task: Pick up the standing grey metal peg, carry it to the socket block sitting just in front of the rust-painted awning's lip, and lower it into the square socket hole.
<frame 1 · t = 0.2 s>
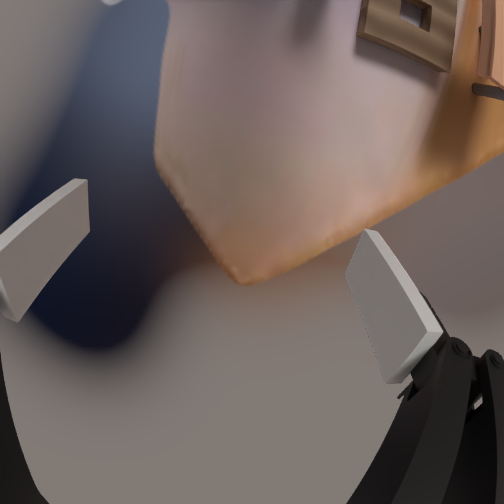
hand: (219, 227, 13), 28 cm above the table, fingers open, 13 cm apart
awning: (474, 54, 26), on the table
socket block: (406, 14, 25), on the table
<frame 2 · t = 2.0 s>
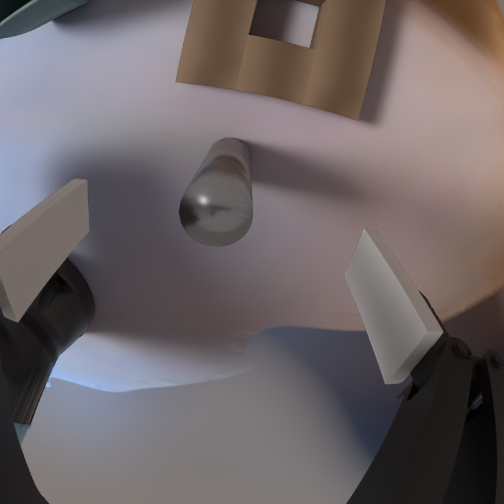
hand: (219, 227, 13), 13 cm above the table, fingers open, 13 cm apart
peg: (229, 157, 24), on the table
socket block: (284, 22, 18), on the table
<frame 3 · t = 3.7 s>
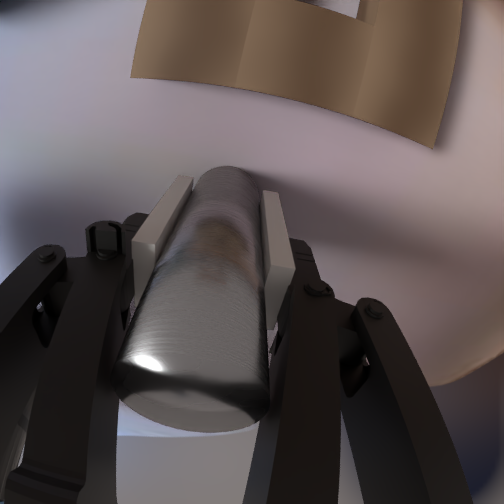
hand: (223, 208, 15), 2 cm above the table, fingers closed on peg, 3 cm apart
peg: (226, 197, 16), on the table, touching gripper
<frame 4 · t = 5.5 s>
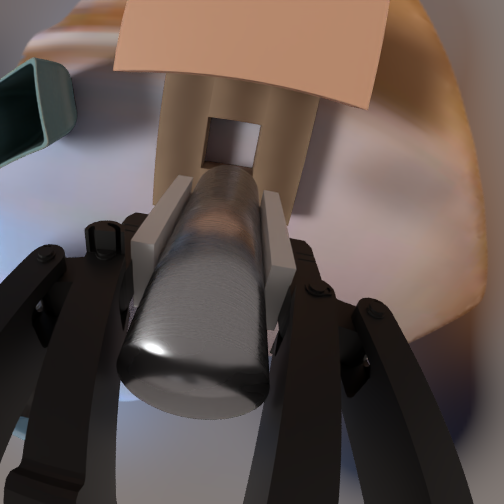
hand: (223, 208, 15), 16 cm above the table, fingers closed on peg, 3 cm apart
flower pot: (59, 104, 24), on the table
peg: (226, 195, 16), point 14 cm above the table, touching gripper
awning: (258, 14, 21), on the table
socket block: (232, 141, 28), on the table
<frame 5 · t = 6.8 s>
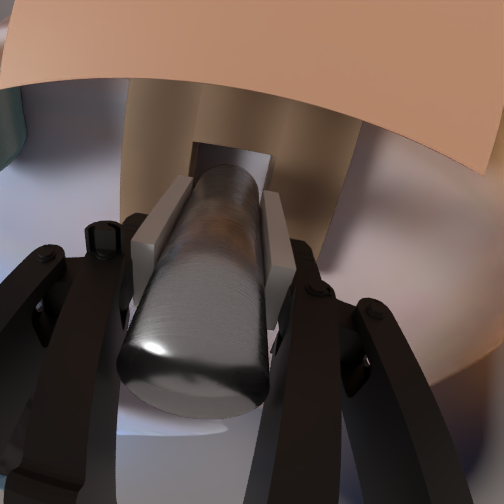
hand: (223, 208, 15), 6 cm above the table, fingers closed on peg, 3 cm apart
flower pot: (9, 120, 16), on the table
peg: (226, 194, 16), point 4 cm above the table, touching gripper
socket block: (230, 173, 20), on the table
when the fingers open (3 cm above the table, at t = 7.6 s): peg drops 1 cm, on the table.
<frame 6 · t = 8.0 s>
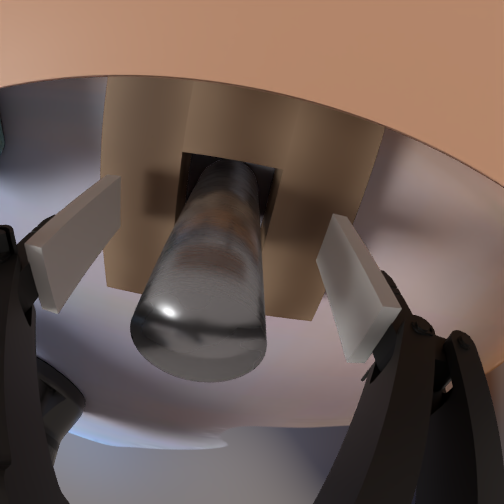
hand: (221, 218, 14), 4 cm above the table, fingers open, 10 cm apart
peg: (227, 187, 17), on the table
socket block: (228, 187, 17), on the table
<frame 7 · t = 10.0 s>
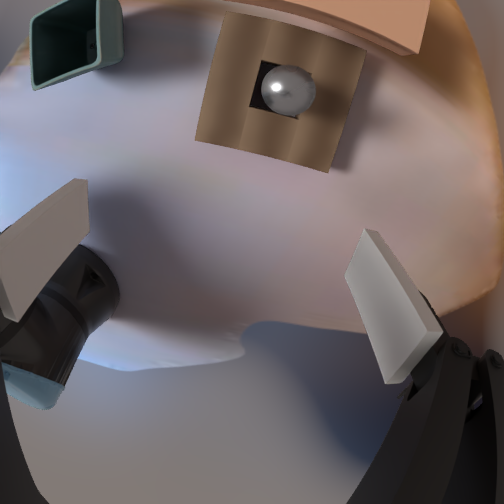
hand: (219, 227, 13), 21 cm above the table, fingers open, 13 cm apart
flower pot: (106, 43, 23), on the table
peg: (278, 89, 27), on the table
socket block: (278, 89, 27), on the table
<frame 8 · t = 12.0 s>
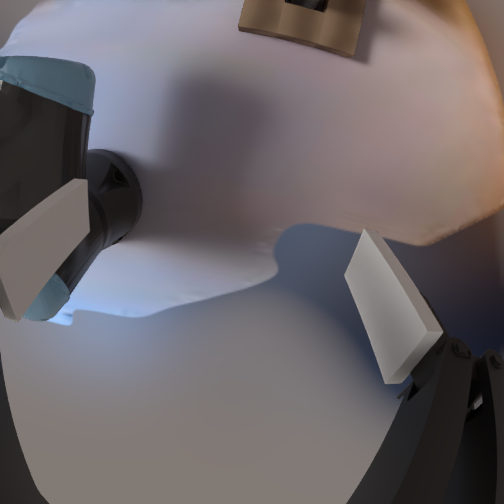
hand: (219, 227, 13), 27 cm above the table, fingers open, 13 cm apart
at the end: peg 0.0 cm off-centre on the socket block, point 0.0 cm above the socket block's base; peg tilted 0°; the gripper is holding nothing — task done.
